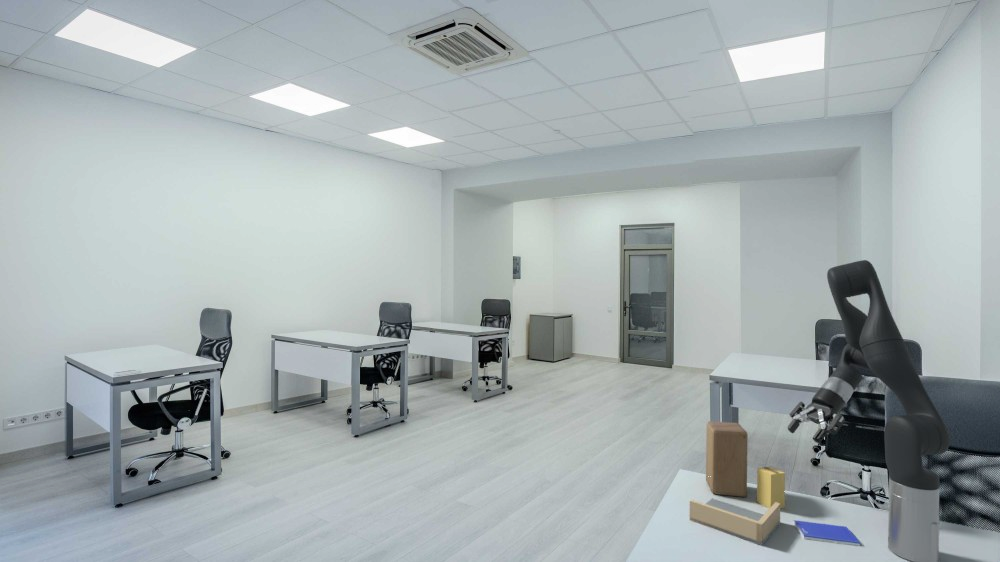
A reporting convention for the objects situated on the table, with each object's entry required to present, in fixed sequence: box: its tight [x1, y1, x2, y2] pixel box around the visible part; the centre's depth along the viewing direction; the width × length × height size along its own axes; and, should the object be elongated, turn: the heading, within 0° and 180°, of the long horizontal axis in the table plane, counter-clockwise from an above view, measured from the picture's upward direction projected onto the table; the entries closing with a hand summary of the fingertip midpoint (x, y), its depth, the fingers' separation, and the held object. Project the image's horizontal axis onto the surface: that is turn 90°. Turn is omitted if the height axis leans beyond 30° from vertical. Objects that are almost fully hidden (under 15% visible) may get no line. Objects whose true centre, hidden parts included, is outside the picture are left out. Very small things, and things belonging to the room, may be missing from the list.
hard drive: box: [792, 519, 861, 547], centre depth 127 cm, size 2×8×12 cm
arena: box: [689, 498, 781, 546], centre depth 133 cm, size 18×16×5 cm
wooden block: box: [705, 420, 749, 498], centre depth 152 cm, size 10×10×20 cm
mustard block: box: [756, 466, 786, 510], centre depth 143 cm, size 5×5×10 cm
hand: (802, 436), depth 146 cm, fingers open, 8 cm apart
